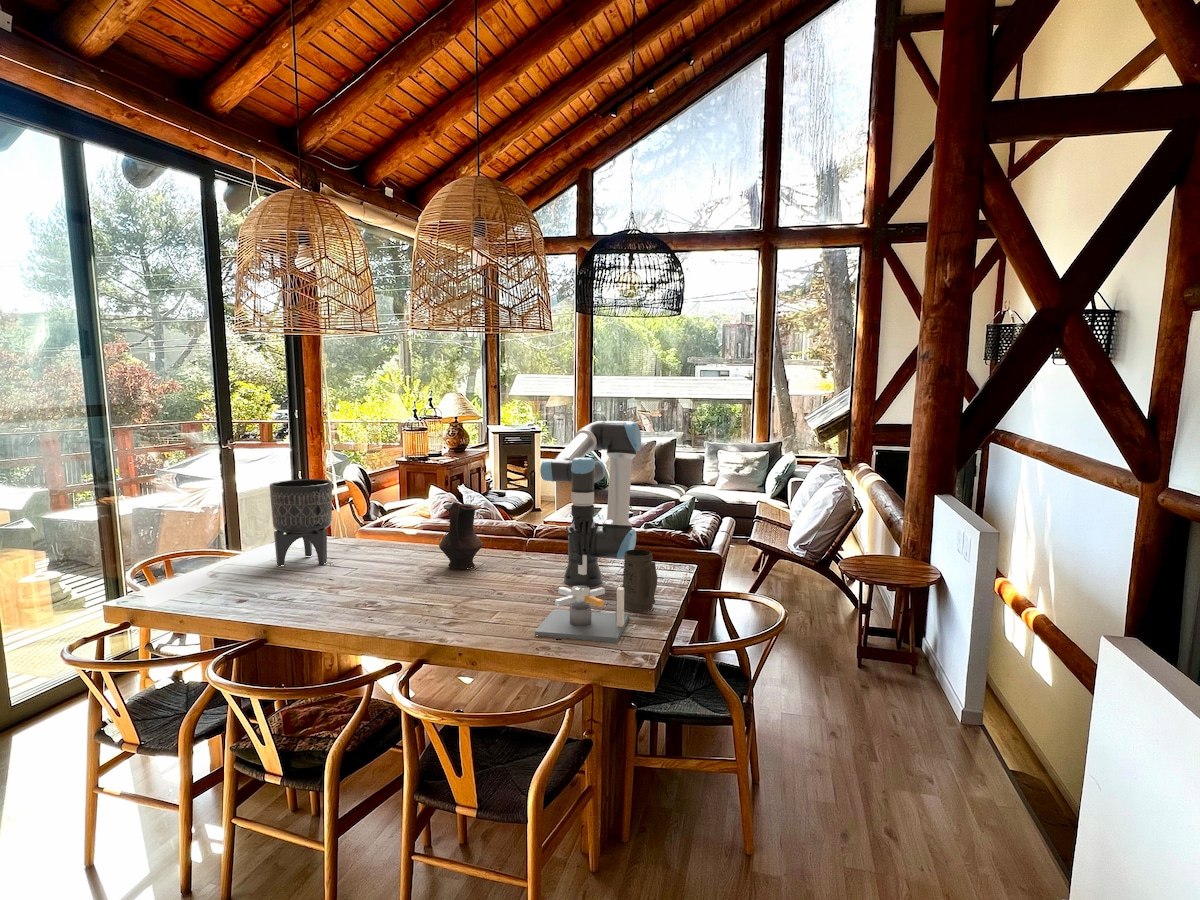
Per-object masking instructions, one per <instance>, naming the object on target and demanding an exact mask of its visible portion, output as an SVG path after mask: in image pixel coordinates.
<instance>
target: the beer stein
mask: <svg viewBox="0 0 1200 900" xmlns="http://www.w3.org/2000/svg"><path fill="white" fill-rule="evenodd" d="M653 558H654V557H653V553H652V552H651V551H650V550H646V549H637V548H634V549H633V550H628V551H626V552H625V555H624V559H623V560H624V562H623V563H624V565H623V566H624V567H623V574H622V576H623V577H622V578H623V579H622V587H623V588H624V610H627V611H632V612H644V610H646V611H649V610H652V608H654V607H653V606H654V605H655V604H656V599H655V594H656V590H657V586H658V573H657V568H656V567H657V566H656V564H657V563H656V562H655V561H653V560H654V559H653ZM648 609H649V610H648Z"/></svg>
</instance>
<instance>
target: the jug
mask: <svg viewBox="0 0 1200 900" xmlns="http://www.w3.org/2000/svg"><path fill="white" fill-rule="evenodd" d="M480 509H482V506H480V505H477V504H476V505H475V504H470V503H459V502H457V501H453V502H452V503H447V504H445V505H444V506H443V510H446V511H448V512H449V530H448V532H447V534H445V536H444V537H443V538H442V540H441V541H440V543H439V544H438V547H439V549H440V550H441V551H442V552H443V554H444V556H446V557H447V559H448V560H449V562H448V563H449V564H448V568H449V569H451V570H455V569H467V568H471V567H474V566H475V567H476V564H475V563H474V561H473V560H474V557H476V555H477V554H478V552H479V551H480V550H481V549H482V548H483V545H484V544H483V542H482V540H481V539H480V537H479V535H477V534H476V532H475V530H474V524H475V516H476V515H475V513H476V511H477V510H478V511H479V510H480ZM475 567H474V568H475Z"/></svg>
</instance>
